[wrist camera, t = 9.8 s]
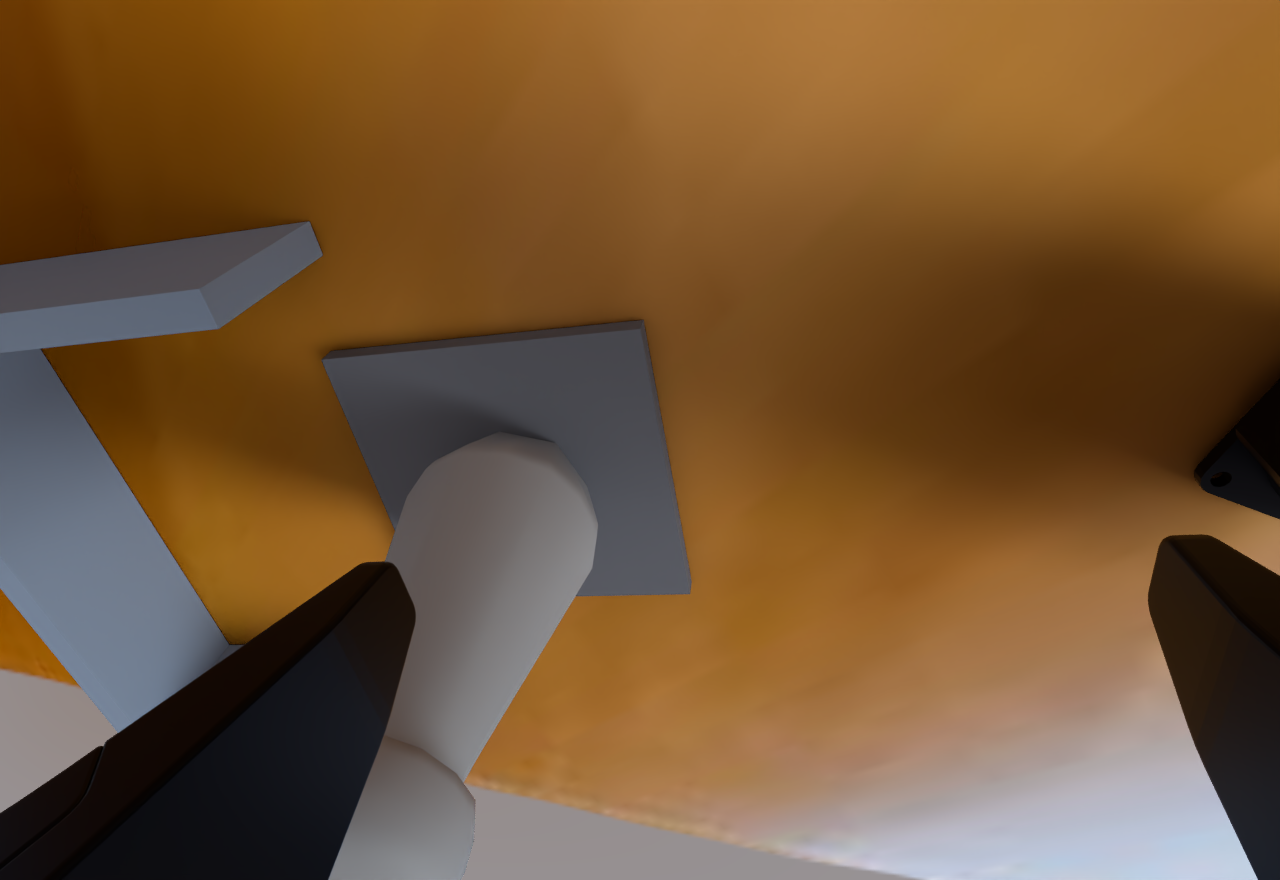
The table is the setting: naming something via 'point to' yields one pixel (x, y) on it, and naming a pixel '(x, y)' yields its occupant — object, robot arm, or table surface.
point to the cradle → (85, 475)
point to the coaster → (531, 430)
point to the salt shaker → (466, 641)
